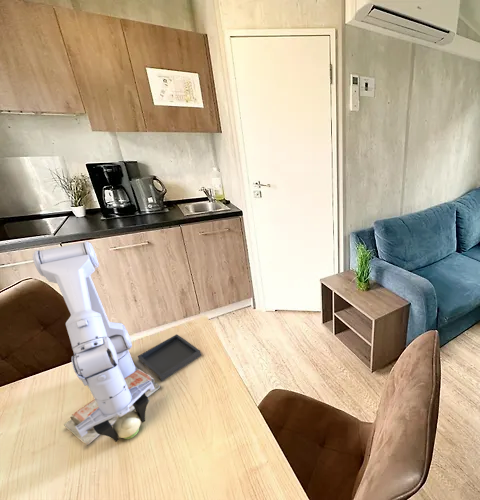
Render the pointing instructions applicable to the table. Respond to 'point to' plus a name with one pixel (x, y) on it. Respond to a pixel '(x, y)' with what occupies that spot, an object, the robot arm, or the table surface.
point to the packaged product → (88, 409)
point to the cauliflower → (127, 425)
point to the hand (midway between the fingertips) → (129, 429)
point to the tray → (169, 357)
